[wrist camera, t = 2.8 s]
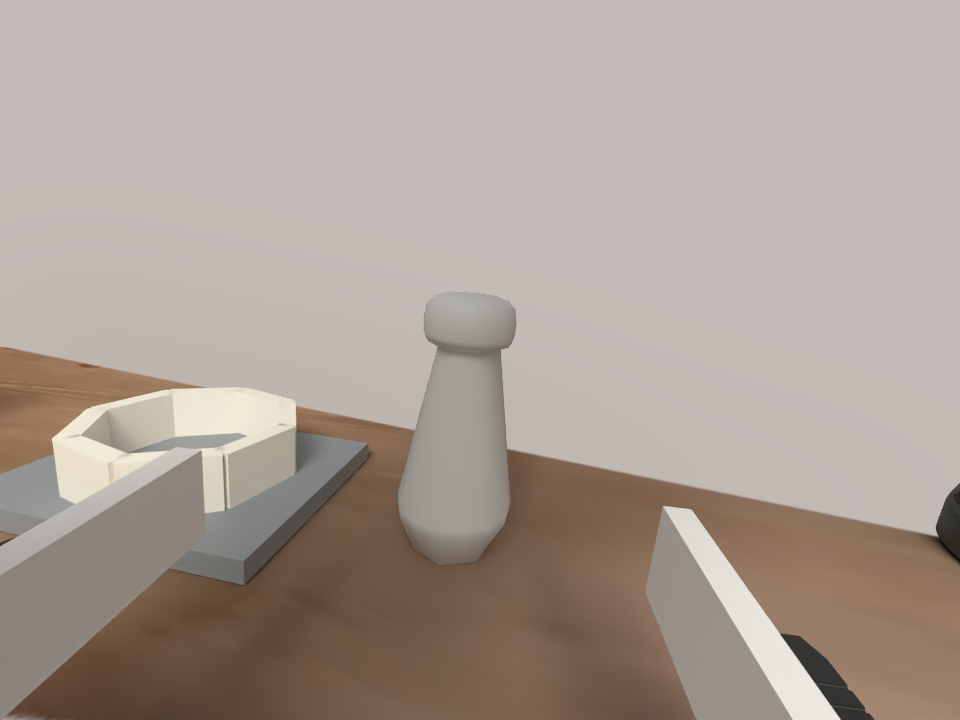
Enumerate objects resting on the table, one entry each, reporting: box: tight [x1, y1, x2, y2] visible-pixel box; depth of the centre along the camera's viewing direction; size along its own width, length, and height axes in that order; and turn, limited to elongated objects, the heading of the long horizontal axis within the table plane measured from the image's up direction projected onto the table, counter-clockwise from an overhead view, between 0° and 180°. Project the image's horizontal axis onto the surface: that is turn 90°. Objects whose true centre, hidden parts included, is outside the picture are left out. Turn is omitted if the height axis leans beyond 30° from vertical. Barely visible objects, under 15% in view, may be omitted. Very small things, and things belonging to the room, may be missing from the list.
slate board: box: [0, 431, 368, 585], centre depth 27 cm, size 16×13×1 cm
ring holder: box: [52, 387, 296, 513], centre depth 26 cm, size 11×11×3 cm
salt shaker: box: [397, 292, 516, 566], centre depth 23 cm, size 6×6×13 cm
